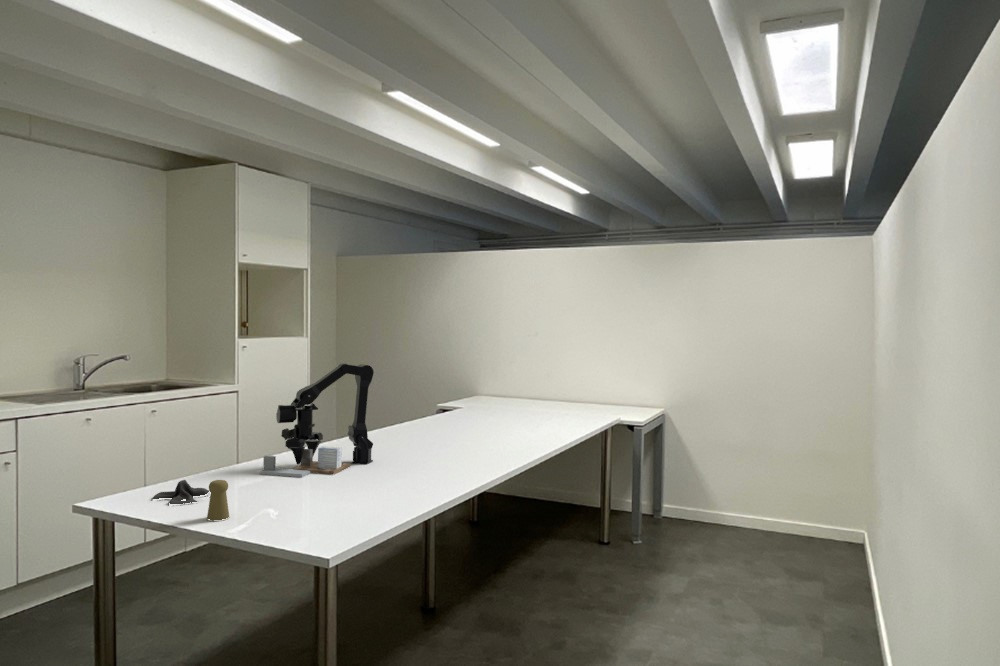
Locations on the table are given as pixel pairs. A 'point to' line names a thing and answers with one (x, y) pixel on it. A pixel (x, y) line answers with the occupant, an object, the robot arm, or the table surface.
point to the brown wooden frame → (316, 464)
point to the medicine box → (329, 457)
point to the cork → (218, 500)
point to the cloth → (182, 493)
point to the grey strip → (272, 470)
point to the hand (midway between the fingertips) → (304, 461)
